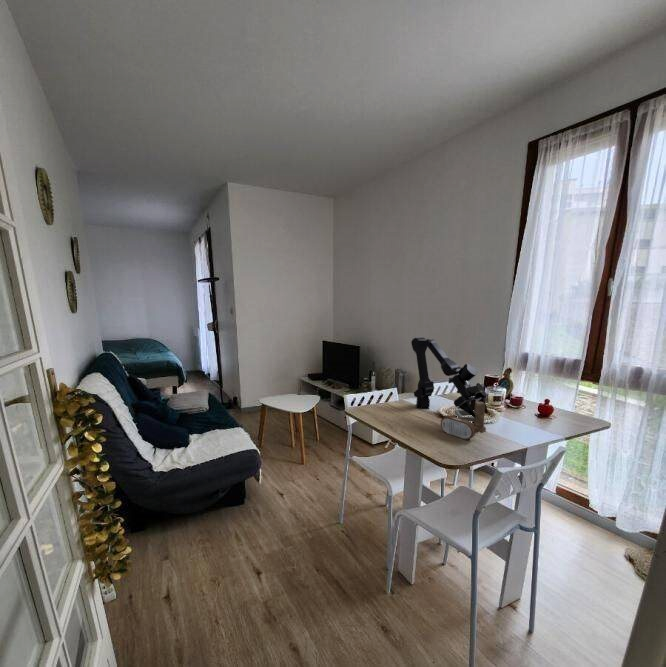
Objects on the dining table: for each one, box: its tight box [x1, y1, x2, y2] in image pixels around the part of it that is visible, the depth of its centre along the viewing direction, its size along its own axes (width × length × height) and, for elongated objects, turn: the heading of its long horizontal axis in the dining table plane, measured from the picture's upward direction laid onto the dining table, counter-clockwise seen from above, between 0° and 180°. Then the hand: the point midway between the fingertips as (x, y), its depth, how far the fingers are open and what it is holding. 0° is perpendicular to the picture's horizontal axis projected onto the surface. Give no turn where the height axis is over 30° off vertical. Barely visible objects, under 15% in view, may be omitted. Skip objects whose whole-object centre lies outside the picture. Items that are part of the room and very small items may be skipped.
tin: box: [440, 414, 476, 441], centre depth 142 cm, size 15×3×8 cm, turn 44°
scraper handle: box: [472, 401, 487, 433], centre depth 150 cm, size 5×5×13 cm
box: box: [454, 409, 474, 421], centre depth 162 cm, size 11×11×3 cm
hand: (481, 414), depth 149 cm, fingers open, 9 cm apart
